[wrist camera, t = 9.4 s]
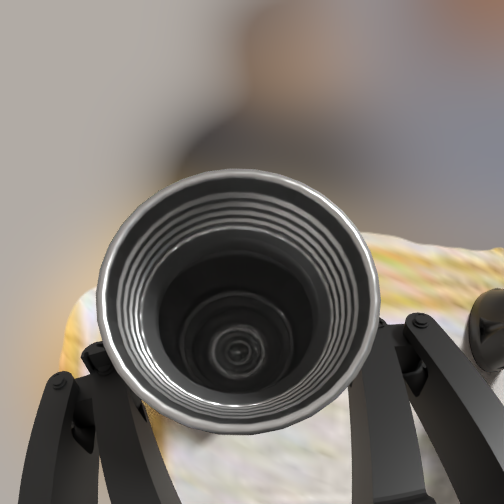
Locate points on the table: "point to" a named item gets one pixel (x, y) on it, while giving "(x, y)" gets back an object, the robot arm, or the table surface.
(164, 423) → the table surface
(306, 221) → the plastic bottle
